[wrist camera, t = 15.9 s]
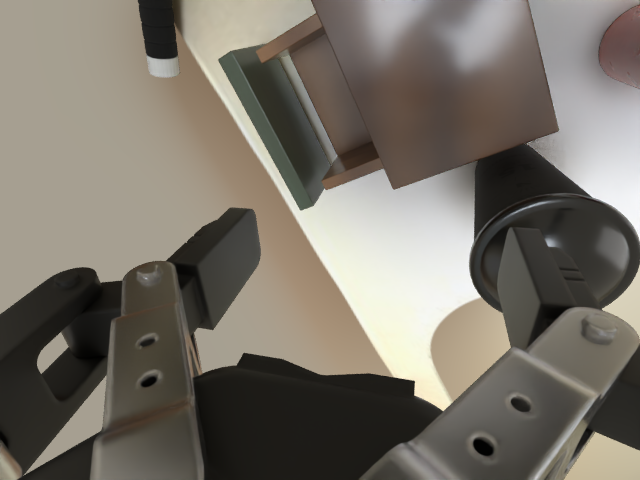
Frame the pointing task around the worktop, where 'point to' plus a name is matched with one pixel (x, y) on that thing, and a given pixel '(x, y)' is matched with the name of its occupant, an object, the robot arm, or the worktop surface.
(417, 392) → the worktop surface
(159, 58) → the knife
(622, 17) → the tin
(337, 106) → the drawer
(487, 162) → the drinking cup
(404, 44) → the cabinet
